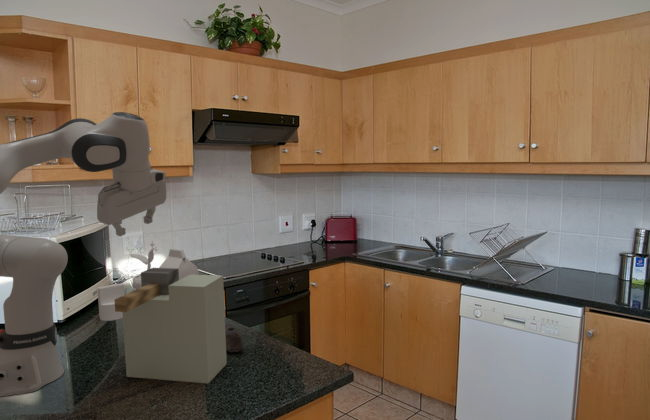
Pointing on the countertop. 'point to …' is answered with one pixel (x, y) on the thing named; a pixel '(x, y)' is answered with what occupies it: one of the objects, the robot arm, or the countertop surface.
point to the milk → (180, 263)
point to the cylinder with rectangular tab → (109, 301)
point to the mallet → (148, 288)
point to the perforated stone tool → (232, 339)
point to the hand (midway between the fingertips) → (135, 228)
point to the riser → (178, 332)
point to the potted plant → (146, 261)
